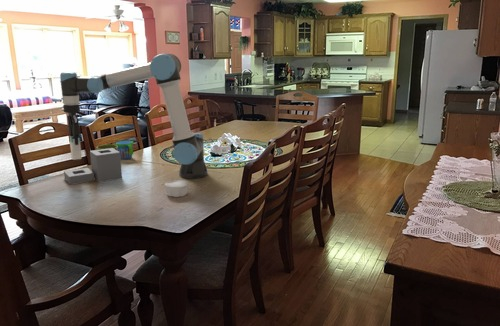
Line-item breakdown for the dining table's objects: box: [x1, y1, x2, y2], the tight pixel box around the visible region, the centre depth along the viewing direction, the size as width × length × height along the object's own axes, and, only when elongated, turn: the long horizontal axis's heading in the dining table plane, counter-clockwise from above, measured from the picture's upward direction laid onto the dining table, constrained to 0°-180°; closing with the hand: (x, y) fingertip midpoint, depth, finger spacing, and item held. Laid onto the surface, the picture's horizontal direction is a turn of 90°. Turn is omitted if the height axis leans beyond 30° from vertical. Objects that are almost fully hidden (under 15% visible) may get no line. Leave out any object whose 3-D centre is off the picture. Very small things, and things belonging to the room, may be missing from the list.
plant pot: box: [96, 144, 118, 151], centre depth 236 cm, size 12×12×11 cm
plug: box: [69, 136, 82, 161], centre depth 207 cm, size 4×4×11 cm
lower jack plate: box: [63, 167, 96, 185], centre depth 210 cm, size 12×12×4 cm
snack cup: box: [114, 140, 135, 160], centre depth 253 cm, size 16×10×10 cm
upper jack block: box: [89, 148, 123, 183], centre depth 213 cm, size 12×12×14 cm
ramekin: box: [164, 179, 190, 198], centre depth 190 cm, size 11×11×5 cm
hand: (75, 149), depth 207 cm, fingers closed on plug, 4 cm apart
